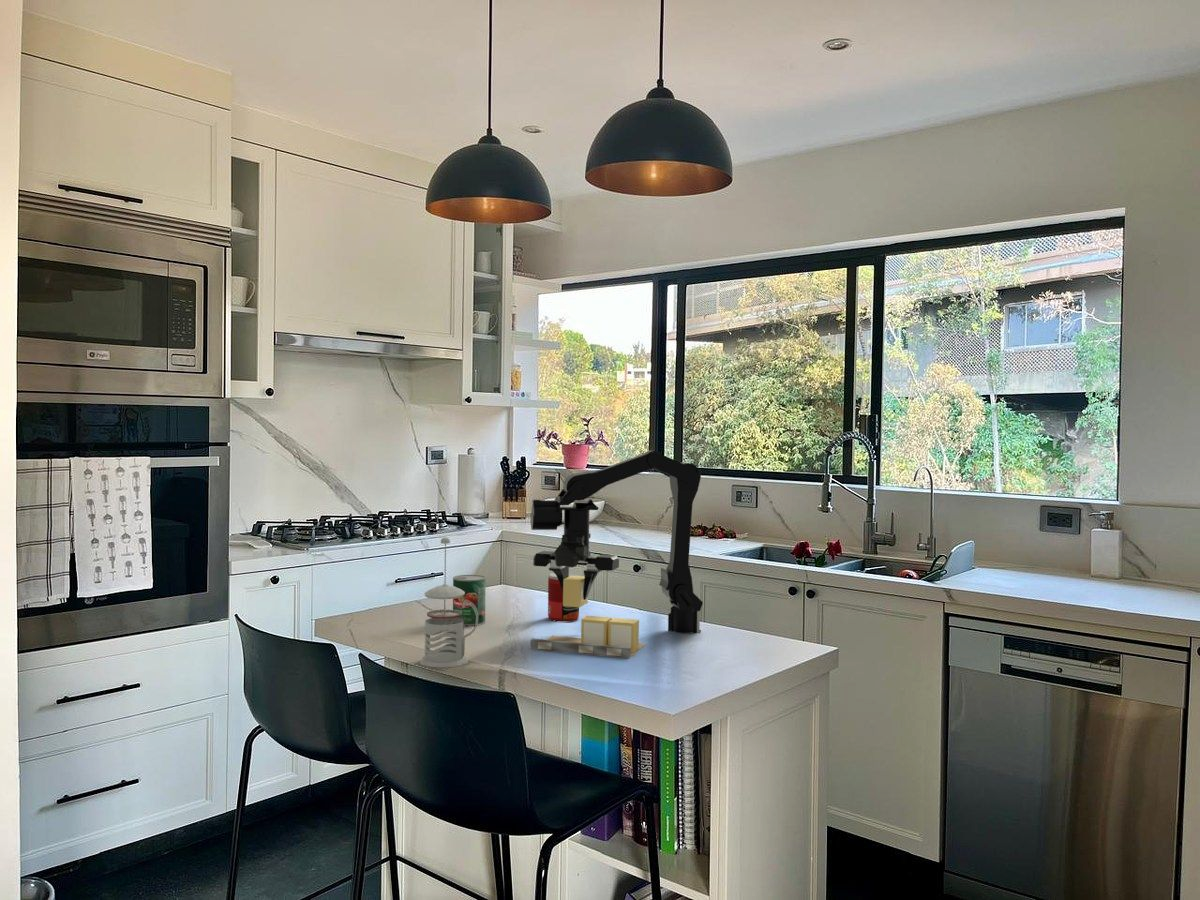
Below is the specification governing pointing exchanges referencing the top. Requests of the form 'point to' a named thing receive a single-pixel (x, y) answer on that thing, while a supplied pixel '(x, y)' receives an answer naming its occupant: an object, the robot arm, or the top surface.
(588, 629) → the tea box
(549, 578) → the canned food
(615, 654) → the shelf board
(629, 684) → the top surface
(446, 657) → the french press
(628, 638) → the tea box
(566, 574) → the robot arm
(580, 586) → the tea box turned
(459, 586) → the canned tomato
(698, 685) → the top surface
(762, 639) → the top surface
